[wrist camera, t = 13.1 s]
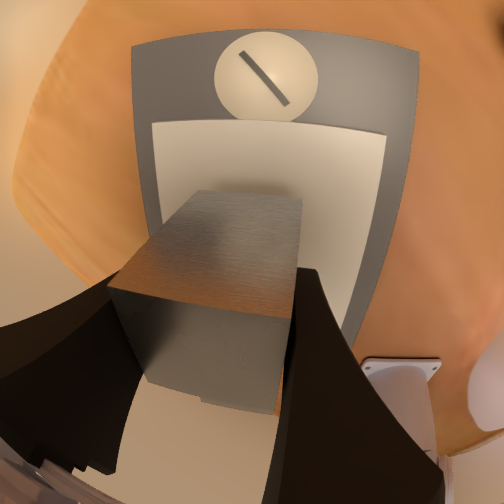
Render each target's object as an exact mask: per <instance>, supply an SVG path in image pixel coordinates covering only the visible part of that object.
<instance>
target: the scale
mask: <svg viewBox="0 0 504 504" xmlns="http://www.w3.org/2000/svg"><path fill="white" fill-rule="evenodd" d="M131 74H132V100H133V116H134V129H135V140H136V150H137V159H138V167H139V175H140V183H141V190H142V196H143V203H144V209H145V215H146V221H147V226H148V232H149V237H151V236H152V235H153V234H154V233H155V232H156V231H157V230H158V229H159V228H160V227H161V226H162V225H163V224H164V223H165V222H166V221H167V220H168V219H169V218H170V217H171V216H172V215H173V214H174V213H175V212H176V211H177V210H178V209H179V208H180V207H181V206H182V205H183V204H184V203H185V202H186V201H187V200H188V199H189V198H190V197H191V196H192V195H194V194H195V193H196V192H197V191H198V190H208V191H224V192H238V193H251V194H262V195H273V196H284V197H293V198H303V206H302V219H301V230H300V242H299V252H298V262H297V267H302V268H311V269H316V271H317V272H318V274H319V278H320V281H321V285H322V287H323V290H324V293H325V296H326V298H327V301H328V303H329V306H330V308H331V310H332V313H333V315H334V317H335V319H336V322H337V324H338V326H339V328H340V330H341V332H342V334H343V336H344V338H345V340H346V342H347V344H348V346H349V348H350V350H351V348H352V346H353V343H354V341H355V339H356V336H357V334H358V331H359V329H360V327H361V324H362V322H363V319H364V317H365V314H366V311H367V309H368V306H369V303H370V301H371V298H372V295H373V292H374V290H375V287H376V284H377V281H378V278H379V275H380V272H381V269H382V266H383V263H384V260H385V256H386V253H387V250H388V246H389V243H390V239H391V236H392V232H393V229H394V225H395V221H396V217H397V213H398V209H399V205H400V201H401V196H402V192H403V187H404V183H405V178H406V173H407V167H408V162H409V156H410V150H411V144H412V137H413V130H414V123H415V114H416V104H417V93H418V78H419V52H417V51H414V50H410V49H407V48H403V47H400V46H396V45H392V44H388V43H384V42H380V41H375V40H370V39H365V38H360V37H354V36H348V35H342V34H335V33H327V32H317V31H306V30H289V29H244V30H227V31H215V32H206V33H198V34H190V35H184V36H178V37H172V38H167V39H162V40H157V41H152V42H148V43H144V44H140V45H136V46H132V47H131Z"/></svg>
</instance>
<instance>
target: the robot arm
mask: <svg viewBox="0 0 504 504" xmlns="http://www.w3.org/2000/svg"><path fill="white" fill-rule="evenodd" d="M119 271H120V270H119ZM119 271H117V272H116V273H114V274H112V275H111V276H109V277H108V278H106V279H104V280H103V281H101V282H99V283H97V284H96V285H94V286H92V287H91V288H89V289H87V290H85V291H84V292H82V293H80V294H79V295H77V296H75V297H73V298H71V299H69V300H67V301H65V302H63V303H61V304H59V305H57V306H55V307H53V308H51V309H49V310H47V311H44V312H42V313H39V314H37V315H34V316H32V317H30V318H27V319H25V320H22V321H19V322H16V323H13V324H10V325H7V326H3V327H0V504H78V502H80V503H81V504H124V503H122V502H120V501H118V500H116V499H114V498H112V497H110V496H108V495H106V494H104V493H102V492H101V491H99V490H97V489H95V488H93V487H92V486H90V485H88V484H87V483H85V482H83V481H81V480H80V479H78V478H77V477H75V476H74V475H72V474H71V473H72V471H73V469H74V467H75V468H77V469H79V470H80V471H82V472H84V471H85V470H86V467H87V465H88V466H90V467H91V468H93V469H95V470H97V471H99V472H101V473H103V474H105V475H110V474H113V473H115V471H116V464H117V458H118V453H119V447H120V443H121V439H122V434H123V430H124V427H125V423H126V420H127V416H128V413H129V410H130V407H131V404H132V401H133V398H134V395H135V392H136V390H137V387H138V384H139V381H140V379H141V377H142V375H143V371H142V369H141V366H140V364H139V362H138V360H137V358H136V356H135V354H134V352H133V350H132V347H131V345H130V343H129V341H128V339H127V336H126V334H125V332H124V329H123V327H122V325H121V322H120V320H119V317H118V315H117V312H116V310H115V307H114V304H113V302H112V299H111V297H110V294H109V291H108V288H107V285H108V284H109V282H110V281H111V280H112V279H113V278H114V277H115V276H116V274H117V273H118V272H119ZM441 364H442V362H441V360H440V359H378V358H369V359H366V360H365V361H364V362H363V364H362V366H361V367H360V365H359V364H358V362H357V360H356V359H355V357H354V355H353V353H352V351H351V350H350V348H349V346H348V344H347V342H346V340H345V338H344V336H343V334H342V332H341V330H340V328H339V326H338V324H337V322H336V319H335V317H334V315H333V313H332V310H331V308H330V306H329V303H328V301H327V298H326V296H325V293H324V290H323V287H322V285H321V281H320V278H319V274H318V272H317V271H316V269H311V268H302V267H297V272H296V281H295V290H294V299H293V308H292V316H291V323H290V329H289V335H288V341H287V346H286V352H285V358H284V371H283V388H282V403H281V411H280V418H279V424H278V429H277V434H276V439H275V445H274V450H273V454H272V460H271V464H270V469H269V473H268V478H267V482H266V487H265V491H264V495H263V499H262V503H261V504H454V475H453V461H452V458H450V457H447V455H442V456H440V457H439V455H438V453H437V447H436V437H435V428H434V420H433V413H432V406H431V400H430V394H429V389H428V384H427V382H428V381H429V379H430V378H431V377H432V376H433V375H434V373H435V372H436V371H437V370H438V368H439V367H440V366H441ZM35 471H36V472H38V473H39V474H40V475H41V476H42V477H41V476H39V475H37V474H36V472H35ZM43 477H44V478H43ZM502 504H504V503H502Z"/></svg>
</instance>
